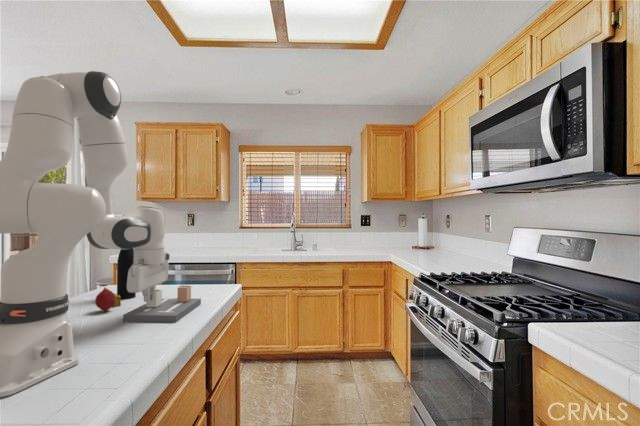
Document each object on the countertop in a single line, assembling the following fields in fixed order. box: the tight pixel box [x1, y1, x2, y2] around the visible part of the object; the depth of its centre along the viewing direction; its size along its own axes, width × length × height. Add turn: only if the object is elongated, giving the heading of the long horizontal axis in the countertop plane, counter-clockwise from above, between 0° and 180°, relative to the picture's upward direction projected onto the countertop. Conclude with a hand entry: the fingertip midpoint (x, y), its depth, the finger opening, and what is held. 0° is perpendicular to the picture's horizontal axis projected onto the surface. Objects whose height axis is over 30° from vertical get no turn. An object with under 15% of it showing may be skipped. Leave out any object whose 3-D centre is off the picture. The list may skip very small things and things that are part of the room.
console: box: [122, 297, 202, 323], centre depth 119 cm, size 22×16×2 cm
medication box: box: [111, 292, 122, 308], centre depth 129 cm, size 12×3×4 cm, turn 50°
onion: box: [94, 286, 116, 312], centre depth 119 cm, size 6×6×8 cm
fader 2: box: [176, 284, 192, 302], centre depth 126 cm, size 4×3×5 cm
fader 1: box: [145, 289, 163, 307], centre depth 118 cm, size 4×3×5 cm
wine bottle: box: [116, 248, 137, 300], centre depth 139 cm, size 6×6×30 cm
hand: (148, 300), depth 114 cm, fingers closed
